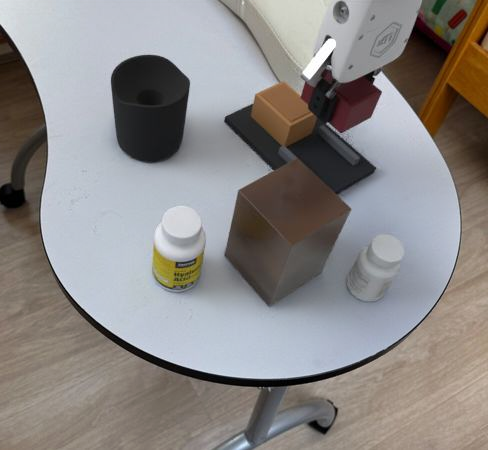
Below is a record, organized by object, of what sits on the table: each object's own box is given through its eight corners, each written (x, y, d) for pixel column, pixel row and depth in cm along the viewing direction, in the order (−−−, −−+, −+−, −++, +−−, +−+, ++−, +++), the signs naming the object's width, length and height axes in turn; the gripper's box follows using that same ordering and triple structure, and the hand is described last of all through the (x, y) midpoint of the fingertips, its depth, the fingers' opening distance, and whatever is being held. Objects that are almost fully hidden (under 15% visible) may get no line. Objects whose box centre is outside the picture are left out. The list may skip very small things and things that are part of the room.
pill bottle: (384, 273, 68) (408, 234, 61) (384, 306, 65) (410, 269, 59) (346, 265, 68) (366, 226, 62) (344, 298, 65) (366, 260, 59)
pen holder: (188, 118, 80) (193, 59, 72) (181, 169, 75) (185, 111, 67) (120, 110, 80) (118, 50, 72) (108, 161, 75) (104, 102, 67)
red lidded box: (371, 117, 69) (383, 90, 65) (341, 134, 67) (351, 106, 63) (330, 83, 72) (339, 55, 68) (299, 98, 70) (308, 70, 66)
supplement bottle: (172, 302, 63) (176, 253, 56) (142, 268, 66) (142, 215, 58) (210, 276, 66) (219, 225, 58) (180, 244, 68) (185, 191, 60)
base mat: (374, 173, 77) (379, 161, 75) (313, 209, 72) (317, 198, 71) (283, 93, 85) (287, 81, 83) (224, 121, 80) (226, 109, 79)
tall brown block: (321, 272, 67) (352, 208, 57) (268, 307, 64) (291, 246, 54) (276, 225, 71) (297, 157, 61) (223, 255, 67) (237, 189, 58)
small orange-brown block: (311, 133, 79) (319, 110, 75) (284, 148, 77) (290, 125, 74) (278, 103, 82) (283, 79, 79) (250, 116, 80) (255, 92, 77)
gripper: (353, 8, 49) (304, 155, 64) (478, -45, 56) (408, 99, 71) (294, -35, 53) (260, 114, 67) (419, -81, 59) (363, 64, 74)
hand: (336, 105), depth 69 cm, fingers closed on red lidded box, 5 cm apart
